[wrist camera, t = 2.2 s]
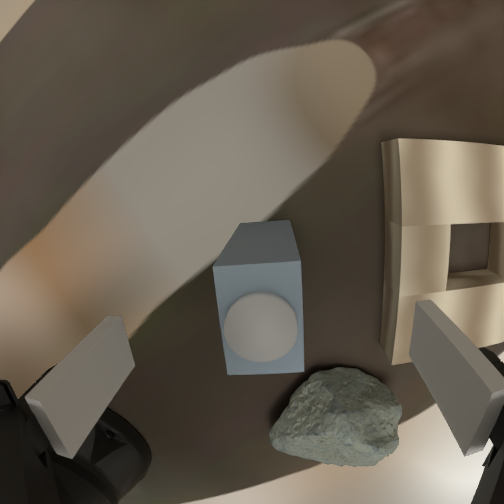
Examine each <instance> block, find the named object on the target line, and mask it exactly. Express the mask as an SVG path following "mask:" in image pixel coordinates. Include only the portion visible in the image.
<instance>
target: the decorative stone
mask: <svg viewBox="0 0 504 504" xmlns="http://www.w3.org/2000/svg"><path fill="white" fill-rule="evenodd" d="M401 415H402V409H401V404H399V403H398V400H397V396H396V395H395V394H394V393H393V391H392V390H391V389H390V387H388V386H386V385H385V384H383V383H381V382H380V381H379V380H378V379H377V378H375V377H373V376H370V375H367V374H365V373H364V372H362V371H360V370H359V369H354V368H345V367H336V368H334V369H331V370H326V371H318V372H316V373H314V374H312V375H311V376H310V377H309V379H308V381H305V382H304V383H302V384H301V385H300V386H299V388H298V389H297V390H296V391H295V392H294V393H293V394H292V396H291V398H290V403H289V404H288V406H287V407H286V408H285V410H284V411H283V412H282V414H281V416H280V418H279V419H278V420H277V421H276V422H275V423H274V425H273V427H272V429H271V430H270V433H269V436H270V441H271V443H272V445H273V447H274V448H275V449H276V450H278V451H280V452H286V453H287V454H289V455H293V456H295V455H296V456H299V457H302V458H306V459H311V460H316V461H319V462H322V463H325V464H335V465H339V466H343V465H348V466H354V467H356V466H373V465H376V464H377V463H378V462H379V461H381V460H382V459H383V458H384V457H386V456H389V454H392V453H393V452H394V451H395V450H396V448H397V446H398V444H399V438H398V434H397V429H398V426H397V425H398V421H399V419H400V417H401Z"/></svg>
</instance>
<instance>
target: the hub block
mask: <svg viewBox="0 0 504 504" xmlns="http://www.w3.org/2000/svg"><path fill="white" fill-rule="evenodd" d="M381 149H382V163H383V181H384V209H385V258H384V287H383V305H382V319H381V331H380V344H381V346H382V348H383V350H384V352H385V354H386V355H387V357H388V359H389V361H390V363H391V365H395V364H402V363H408V362H412V360H411V358H410V356H409V349H410V342H411V335H412V328H413V320H414V311H415V301H422V300H430V299H431V300H432V301H433V302H434V303H435V304H436V305H437V306H438V307H439V308H440V309H441V310H442V311H443V312H444V313H445V314H446V315H447V316H448V317H449V318H450V319H451V320H452V321H453V322H454V324H455V325H456V326H457V327H458V328H459V329H460V330H461V331H462V332H463V333H464V334H465V335H466V336H467V337H468V338H469V339H470V340H471V341H472V342H473V344H474V345H475V346H476V347H477V348H481V347H485V346H489V345H493V344H497V343H501V342H504V146H500V145H491V144H482V143H471V142H460V141H446V140H428V139H402V138H398V139H393V140H389V141H384V142H381ZM489 222H491V226H490V242H489V254H488V264H487V269H481V270H472V271H464V272H455V273H448V264H449V250H450V229H451V224H466V223H489Z"/></svg>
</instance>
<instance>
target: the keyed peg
mask: <svg viewBox="0 0 504 504" xmlns="http://www.w3.org/2000/svg"><path fill="white" fill-rule="evenodd" d="M213 274H214V282H215V290H216V297H217V305H218V312H219V320H220V327H221V334H222V341H223V348H224V354H225V361H226V368H227V374H228V375H249V374H276V373H294V372H304V334H303V300H302V274H301V259H300V256H299V252H298V248H297V244H296V241H295V237H294V233H293V230H292V226H291V223H290V220H280V221H266V222H252V223H240V224H239V226H238V228H237V229H236V231H235V232H234V234H233V235H232V237H231V238H230V240H229V242H228V243H227V245H226V246H225V248H224V249H223V251H222V253H221V254H220V256H219V257H218V259H217V260H216V262H215V263H214V265H213Z"/></svg>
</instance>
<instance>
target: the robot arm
mask: <svg viewBox="0 0 504 504" xmlns="http://www.w3.org/2000/svg"><path fill="white" fill-rule="evenodd" d="M409 356H410V358H411V360H412V362H413V363H414V365H415V367H416V368H417V370H418V372H419V373H420V375H421V377H422V379H423V380H424V382H425V384H426V385H427V387H428V389H429V391H430V393H431V394H432V396H433V398H434V400H435V401H436V403H437V405H438V407H439V409H440V410H441V412H442V414H443V416H444V418H445V419H446V422H447V423H448V425H449V427H450V429H451V431H452V433H453V435H454V437H455V439H456V440H457V442H458V444H459V446H460V448H461V450H462V452H463V454H464V456H467V455H470V454H473V453H476V452H479V451H482V450H483V449H484V447H485V445H486V443H487V441H488V439H489V438H490V439H491V441H492V443H493V447H492V449H491V451H490V453H489V454H488V456H487V458H486V460H485V462H484V463H483V465H482V466H485V465H486V466H485V468H484V471H483V474H482V477H481V480H480V482H479V485H478V488H477V490H476V493H475V495H474V497H473V500H472V502H471V504H504V363H503V362H501V361H500V359H499V358H498V357H497V356H496V355H495V354H494V353H493V352H492V351H490V350H488V349H486V348H484V347H481V348H477V347H476V346H475V345H474V344H473V342H472V341H471V340H470V339H469V338H468V337H467V336H466V335H465V334H464V333H463V332H462V331H461V330H460V329H459V328H458V327H457V326H456V325H455V324H454V322H453V321H452V320H451V319H450V318H449V317H448V316H447V315H446V314H445V313H444V312H443V311H442V310H441V309H440V308H439V307H438V306H437V305H436V304H435V303H434V302H433V301H432V300H431V299H430V300H422V301H415V311H414V320H413V328H412V335H411V342H410V349H409ZM134 367H135V363H134V360H133V356H132V353H131V349H130V345H129V342H128V338H127V334H126V331H125V327H124V323H123V319H122V316H109V315H108V316H107V317H106V318H105V319H104V320H103V321H102V322H101V323H100V324H99V325H98V326H96V327H95V328H94V329H93V330H92V331H91V332H90V333H89V334H88V335H87V336H86V337H85V338H84V339H83V340H82V341H81V342H80V343H79V344H77V345H76V346H75V347H74V348H73V349H72V350H71V351H70V352H69V353H68V354H67V355H66V356H65V357H64V358H63V359H62V360H61V361H60V362H59V363H58V364H56V365H55V366H53V367H51V368H50V369H48V370H47V371H46V372H45V373H44V374H43V375H42V377H40V378H39V379H38V380H37V381H36V383H34V384H33V385H32V386H31V387H30V388H29V389H28V390H27V391H26V392H25V393H24V394H23V395H22V396H21V397H20V398H19V399H17V397H16V395H15V393H14V391H13V389H12V387H11V385H10V383H9V382H8V381H7V380H0V504H118V503H119V501H120V500H121V499H122V498H123V497H124V496H125V495H126V494H127V493H128V492H129V491H130V490H131V489H132V488H133V487H134V486H135V485H136V484H137V483H138V482H139V481H141V480H142V479H143V478H144V476H145V475H146V473H147V470H148V468H149V465H150V463H151V453H150V450H149V447H148V445H147V444H146V442H145V441H144V439H143V438H142V436H141V435H140V434H139V433H138V432H137V431H136V430H135V429H134V428H133V427H132V426H131V425H130V424H129V423H128V422H126V421H125V420H124V419H123V418H121V417H120V416H118V415H117V414H115V413H114V412H112V411H111V410H109V409H107V408H106V407H107V406H108V405H109V403H110V402H111V400H112V399H113V397H114V396H115V394H116V393H117V391H118V390H119V388H120V387H121V385H122V384H123V382H124V381H125V380H126V378H127V377H128V375H129V374H130V372H131V371H132V369H133V368H134Z"/></svg>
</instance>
